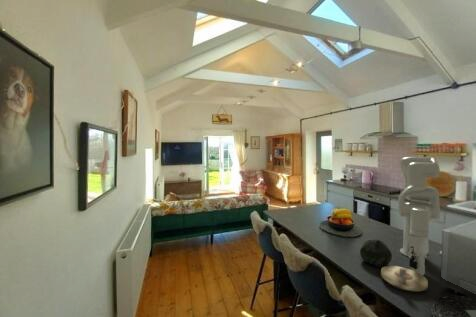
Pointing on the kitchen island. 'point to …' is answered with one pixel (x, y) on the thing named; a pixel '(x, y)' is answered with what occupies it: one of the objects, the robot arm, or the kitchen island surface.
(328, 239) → the kitchen island surface
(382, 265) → the squash
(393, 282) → the turntable
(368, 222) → the kitchen island surface
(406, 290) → the turntable base
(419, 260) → the skincare box
